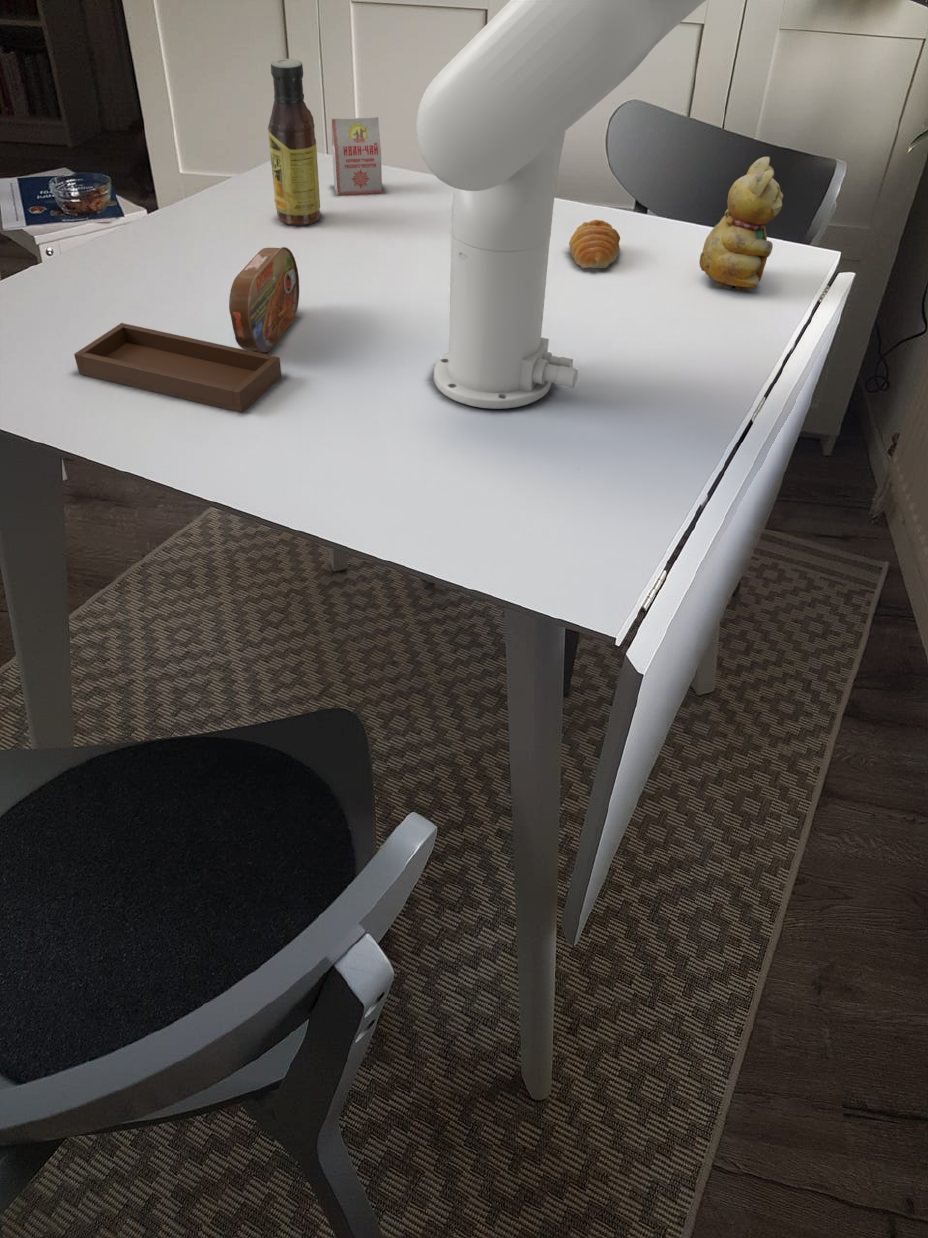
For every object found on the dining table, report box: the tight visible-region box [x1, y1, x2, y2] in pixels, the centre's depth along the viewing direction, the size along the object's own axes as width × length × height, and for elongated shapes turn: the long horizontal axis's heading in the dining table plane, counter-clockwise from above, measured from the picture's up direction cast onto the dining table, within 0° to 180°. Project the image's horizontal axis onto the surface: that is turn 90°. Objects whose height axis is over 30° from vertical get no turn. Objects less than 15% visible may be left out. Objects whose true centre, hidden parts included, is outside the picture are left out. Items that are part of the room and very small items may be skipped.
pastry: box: [568, 219, 621, 269], centre depth 127 cm, size 9×7×4 cm
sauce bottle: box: [267, 58, 321, 226], centre depth 129 cm, size 7×6×20 cm
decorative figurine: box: [699, 156, 784, 293], centre depth 118 cm, size 10×8×15 cm
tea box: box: [331, 116, 383, 196], centre depth 142 cm, size 4×7×10 cm, turn 103°
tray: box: [73, 322, 283, 413], centre depth 100 cm, size 20×8×2 cm, turn 69°
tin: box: [228, 246, 300, 353], centre depth 106 cm, size 15×3×8 cm, turn 168°
